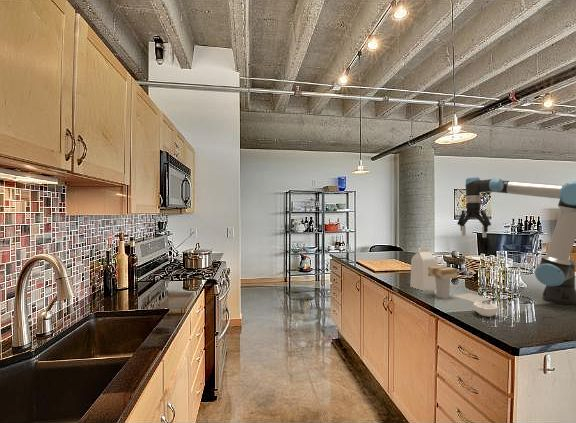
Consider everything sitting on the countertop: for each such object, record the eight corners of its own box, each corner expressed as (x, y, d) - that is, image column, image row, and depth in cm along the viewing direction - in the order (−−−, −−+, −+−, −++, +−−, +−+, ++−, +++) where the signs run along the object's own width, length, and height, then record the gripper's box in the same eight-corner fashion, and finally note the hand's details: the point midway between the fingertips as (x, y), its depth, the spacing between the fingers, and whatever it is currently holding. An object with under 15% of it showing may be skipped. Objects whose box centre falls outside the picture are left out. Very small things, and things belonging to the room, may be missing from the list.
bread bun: (457, 277, 172) (457, 268, 172) (443, 279, 169) (443, 270, 169) (441, 274, 182) (441, 265, 182) (428, 275, 178) (428, 267, 179)
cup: (452, 299, 171) (452, 278, 171) (437, 299, 172) (437, 277, 172) (448, 296, 179) (448, 275, 179) (433, 295, 180) (433, 274, 180)
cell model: (470, 316, 144) (470, 301, 144) (476, 310, 153) (476, 296, 153) (496, 321, 137) (496, 306, 137) (500, 314, 146) (500, 300, 146)
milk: (423, 291, 190) (422, 249, 190) (410, 286, 201) (409, 247, 201) (438, 289, 194) (438, 248, 194) (425, 285, 205) (424, 246, 205)
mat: (492, 300, 170) (492, 299, 170) (474, 302, 165) (474, 302, 165) (469, 293, 183) (469, 293, 183) (452, 296, 178) (452, 295, 178)
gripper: (450, 203, 201) (451, 235, 201) (489, 201, 178) (489, 238, 178) (458, 203, 204) (459, 235, 204) (497, 201, 181) (498, 237, 181)
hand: (473, 236), depth 191 cm, fingers open, 13 cm apart
